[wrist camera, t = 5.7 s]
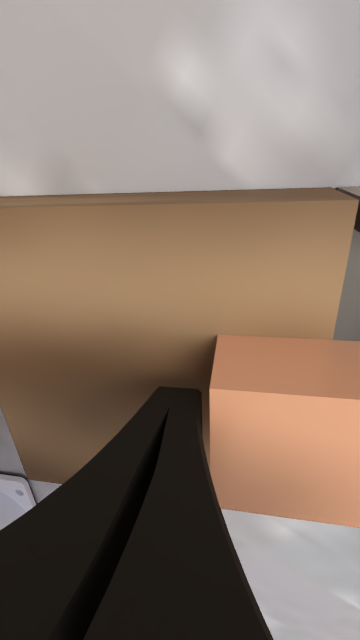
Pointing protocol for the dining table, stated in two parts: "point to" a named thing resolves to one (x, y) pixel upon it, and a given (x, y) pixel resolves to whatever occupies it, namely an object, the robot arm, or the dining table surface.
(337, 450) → the salmon cube
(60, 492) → the robot arm
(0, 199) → the wooden square board
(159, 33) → the dining table surface
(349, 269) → the gray box
